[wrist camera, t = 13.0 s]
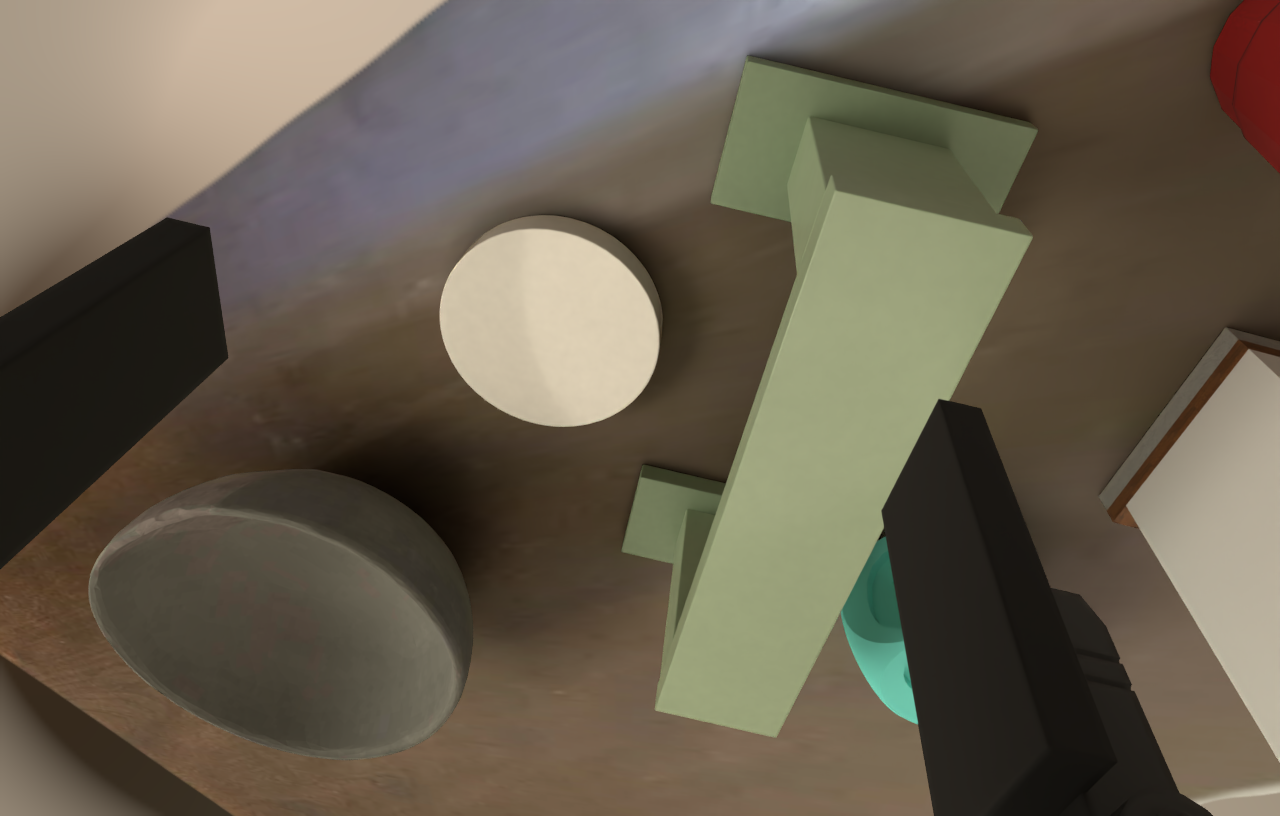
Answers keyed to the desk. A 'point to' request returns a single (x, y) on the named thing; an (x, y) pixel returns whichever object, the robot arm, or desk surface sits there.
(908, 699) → the decorative dice
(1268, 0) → the plastic cup
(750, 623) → the green bench arch
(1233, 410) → the white square tower
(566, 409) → the plate
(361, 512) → the bowl
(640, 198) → the desk surface
